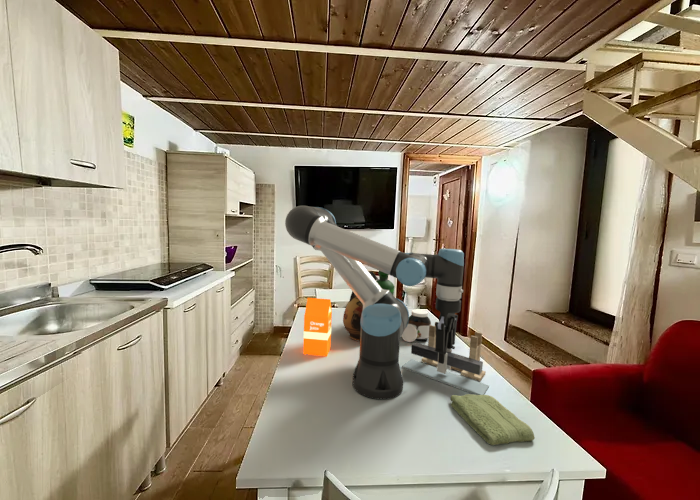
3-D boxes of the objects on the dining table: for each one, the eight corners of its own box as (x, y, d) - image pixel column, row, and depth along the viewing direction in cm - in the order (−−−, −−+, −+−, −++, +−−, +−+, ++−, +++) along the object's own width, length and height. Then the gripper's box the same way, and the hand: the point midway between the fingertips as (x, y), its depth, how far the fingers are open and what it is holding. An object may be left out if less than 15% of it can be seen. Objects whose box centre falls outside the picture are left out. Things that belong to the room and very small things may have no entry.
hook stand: (480, 381, 96) (483, 339, 94) (421, 361, 108) (423, 324, 107) (485, 374, 100) (488, 334, 99) (428, 356, 112) (430, 320, 111)
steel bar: (479, 375, 89) (480, 365, 89) (411, 353, 102) (411, 344, 102) (482, 371, 91) (482, 361, 91) (415, 350, 105) (415, 342, 104)
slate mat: (482, 397, 87) (482, 395, 87) (401, 367, 103) (401, 365, 102) (488, 387, 92) (489, 385, 92) (411, 360, 108) (411, 359, 108)
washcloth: (487, 399, 87) (488, 388, 86) (538, 443, 69) (539, 430, 69) (446, 403, 84) (447, 392, 83) (487, 450, 67) (489, 436, 66)
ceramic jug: (381, 333, 134) (384, 266, 131) (375, 346, 119) (379, 271, 116) (344, 328, 138) (346, 263, 135) (334, 341, 123) (336, 268, 120)
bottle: (371, 319, 152) (373, 264, 150) (392, 321, 151) (395, 265, 148) (369, 326, 142) (372, 267, 139) (392, 328, 140) (395, 269, 138)
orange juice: (326, 356, 109) (328, 302, 107) (302, 354, 110) (304, 300, 108) (330, 347, 116) (332, 296, 115) (308, 345, 117) (309, 295, 116)
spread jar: (430, 336, 133) (431, 310, 132) (430, 346, 122) (432, 318, 121) (402, 332, 136) (404, 307, 135) (400, 342, 125) (401, 314, 124)
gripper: (451, 305, 86) (446, 384, 88) (468, 295, 99) (463, 364, 101) (426, 300, 91) (422, 375, 93) (446, 292, 104) (441, 358, 106)
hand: (443, 369), depth 97 cm, fingers closed on steel bar, 3 cm apart
